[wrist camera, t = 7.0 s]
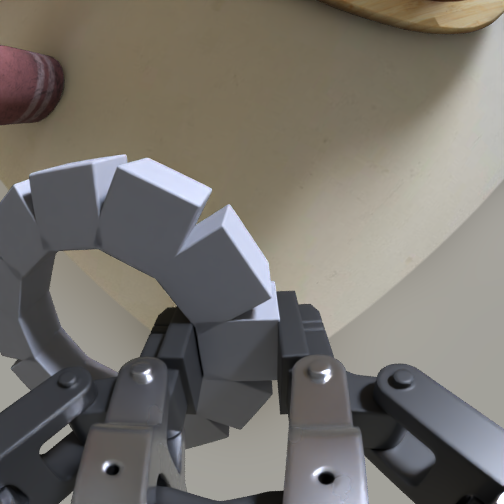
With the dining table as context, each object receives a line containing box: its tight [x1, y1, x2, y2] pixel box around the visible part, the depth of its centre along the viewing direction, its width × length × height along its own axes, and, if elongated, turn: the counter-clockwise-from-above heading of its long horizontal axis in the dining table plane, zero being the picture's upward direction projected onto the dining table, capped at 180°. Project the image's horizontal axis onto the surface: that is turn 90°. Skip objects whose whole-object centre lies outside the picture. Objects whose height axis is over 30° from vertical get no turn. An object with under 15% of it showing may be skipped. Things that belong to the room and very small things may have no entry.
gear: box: [0, 154, 280, 449], centre depth 10 cm, size 12×12×2 cm
